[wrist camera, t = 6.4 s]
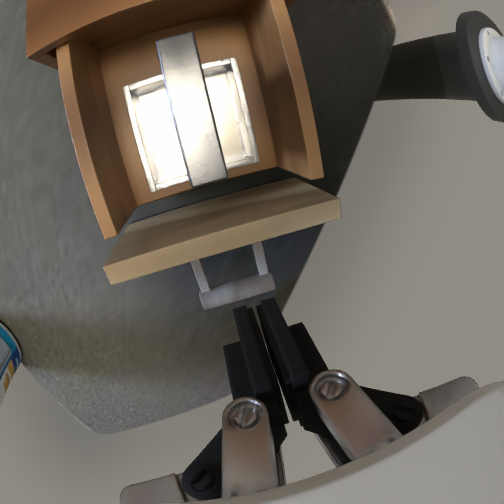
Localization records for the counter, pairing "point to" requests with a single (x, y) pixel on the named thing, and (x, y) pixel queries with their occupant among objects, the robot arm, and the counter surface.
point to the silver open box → (190, 117)
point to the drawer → (199, 214)
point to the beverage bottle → (7, 359)
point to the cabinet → (74, 21)
